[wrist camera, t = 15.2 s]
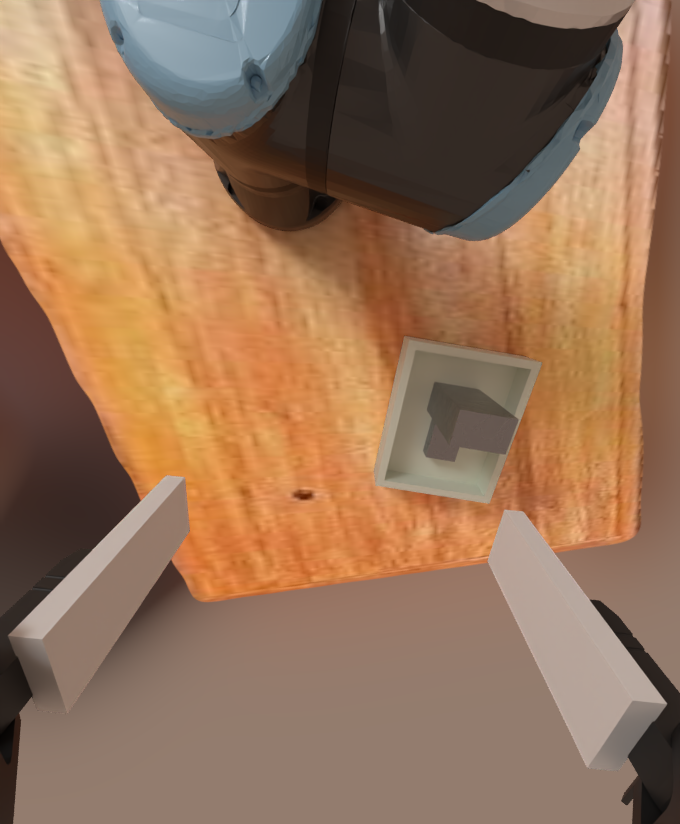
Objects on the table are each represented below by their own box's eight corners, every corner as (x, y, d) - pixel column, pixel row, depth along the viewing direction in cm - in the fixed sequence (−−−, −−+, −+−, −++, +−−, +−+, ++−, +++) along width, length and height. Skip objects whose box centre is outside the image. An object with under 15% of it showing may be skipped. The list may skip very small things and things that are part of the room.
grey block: (434, 381, 43) (460, 409, 33) (479, 389, 43) (518, 419, 33) (415, 449, 47) (434, 494, 36) (457, 456, 47) (487, 502, 36)
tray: (404, 335, 42) (409, 339, 39) (525, 356, 43) (542, 362, 39) (373, 470, 49) (375, 485, 45) (478, 487, 50) (489, 503, 46)
